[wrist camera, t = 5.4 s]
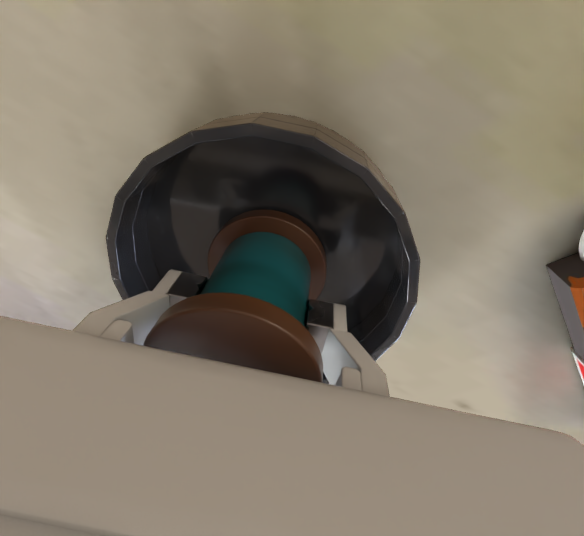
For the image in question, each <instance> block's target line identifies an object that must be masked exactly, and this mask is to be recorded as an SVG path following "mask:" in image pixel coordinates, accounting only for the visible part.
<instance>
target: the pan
mask: <svg viewBox="0 0 584 536" xmlns="http://www.w3.org/2000/svg"><path fill="white" fill-rule="evenodd" d="M253 210H274V211H279V212H283V213H286V214H289V215H291V216H293V217H295V218H297V219H299V220H300V221H302V222H303V223H304V224H306V225H307V226H308V227H309V228H310V229H311V230H312V231H313V232H314V233H315V234H316V236H317V237H318V239H319V240H320V242H321V244H322V246H323V248H324V251H325V255H326V262H327V267H326V280H325V284H324V287H323V290H322V292H321V293H320V295H319V296H318V298H317V299H316V300H318V301H323V302H328V303H336V304H341V305H345V306H346V318H347V332H349V333H351V334H352V335H353V336H354V337H355V338H356V340H357V341H358V342H359V343H360V344H361V346H362V347H363V348H364V349H365V350H366V351H367V353H368V354H369V355H370V356H371V357H372V359H373V360H374V361H376V360H377V359H378V358H379V357H380V356H381V355H382V354H383V353H384V352H385V351H386V350H387V349H389V348H390V347H391V346H392V345H393V344H394V343H395V342H396V341H397V340H398V339H399V338H400V336H401V334H402V332H403V330H404V328H405V326H406V323H407V321H408V319H409V317H410V315H411V313H412V311H413V309H414V307H415V305H416V302H417V296H418V283H419V270H420V257H419V254H418V251H417V248H416V244H415V241H414V238H413V235H412V232H411V229H410V226H409V223H408V220H407V217H406V214H405V212H404V210H403V208H402V205H401V203H400V201H399V199H398V197H397V195H396V193H395V191H394V189H393V187H392V186H391V185H390V183H389V182H388V181H387V180H386V178H385V177H384V176H383V174H382V173H381V171H380V170H379V168H378V167H377V166H376V165H375V164H374V163H373V162H372V160H371V159H370V158H369V157H368V156H367V155H366V154H365V152H364V151H362V149H360V148H358V147H357V146H356V145H354V144H353V143H352V142H351V141H349V140H348V139H346V138H345V137H343V136H341V135H340V134H338V133H337V132H335V131H333V130H331V129H329V128H327V127H325V126H322V125H321V124H318V123H316V122H313V121H310V120H306V119H303V118H299V117H296V116H291V115H284V114H277V113H268V112H262V113H249V114H242V115H236V116H231V117H227V118H220V119H216V120H213V121H211V122H209V123H207V124H204V125H202V126H200V127H198V128H196V129H194V130H192V131H190V132H188V133H186V134H184V135H183V136H181V137H179V138H177V139H176V140H174V141H172V142H170V143H169V144H167V145H165V146H163V147H161V148H160V149H158V150H156V151H154V152H153V153H151V154H149V155H147V156H146V157H145V158H143V159H142V161H141V162H140V163H139V165H138V166H137V167H136V169H135V170H134V171H133V173H132V174H131V175H130V177H129V178H128V179H127V181H126V182H125V183H124V185H123V186H122V187H121V189H120V190H119V191H118V193H117V194H116V196H115V200H114V204H113V208H112V213H111V217H110V221H109V226H108V230H107V235H106V243H107V249H108V256H109V262H110V269H111V275H112V280H113V282H114V284H115V286H116V287H117V289H118V291H119V293H120V295H121V297H122V299H123V300H125V299H128V298H130V297H133V296H136V295H138V294H141V293H144V292H146V291H153V289H154V288H155V287H156V286H157V284H158V283H159V282H160V281H161V279H162V278H163V277H164V276H165V275H166V273H167V272H168V271H169V270H171V269H173V270H177V271H182V272H187V273H191V274H195V275H200V276H204V277H207V278H208V279H209V278H210V274H209V270H208V252H209V249H210V245H211V243H212V241H213V239H214V238H215V236H216V235H217V234H218V232H219V231H220V229H221V228H222V227H223V226H224V225H225V224H226V223H227V222H228V221H229V220H231V219H232V218H234V217H236V216H237V215H240V214H242V213H245V212H248V211H253ZM323 383H326V384H329V382H328V380H327V378H326V376H325V374H324V372H323Z"/></svg>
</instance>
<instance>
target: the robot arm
mask: <svg viewBox="0 0 584 536" xmlns="http://www.w3.org/2000/svg"><path fill="white" fill-rule="evenodd" d="M207 281H208V278H207V277H204V276H200V275H195V274H191V273H187V272H182V271H177V270H173V269H171V270H169V271H168V272H167V273H166V275H165V276H164V277H163V278H162V279H161V281H160V282H159V283H158V284H157V286H156V287H155V288H154V289H153V291H146V292H144V293H141V294H138V295H136V296H133V297H130V298H128V299H125V300H122V301H120V302H117V303H114V304H112V305H109V306H106V307H104V308H101V309H98V310H96V311H93V312H90V313H89V314H88V315H87V316H86V317H85V318H84V319H83V320H82V321H81V322H80V323H79V324H78V325H77V326H76V327H75V328H74V329H73V330H72V331H70V330H66V329H61V328H56V327H51V326H46V325H41V324H37V323H32V322H27V321H22V320H17V319H13V318H8V317H3V316H0V536H584V445H583V444H581V443H580V442H579V441H577V440H576V439H574V438H573V437H571V436H569V435H567V434H564V433H561V432H558V431H553V430H549V429H544V428H539V427H534V426H529V425H524V424H519V423H515V422H510V421H505V420H500V419H495V418H490V417H485V416H480V415H476V414H471V413H466V412H461V411H456V410H452V409H447V408H442V407H437V406H432V405H427V404H423V403H418V402H413V401H408V400H403V399H398V398H394V397H390V396H389V390H388V384H387V378H386V374H385V373H384V372H383V370H382V369H381V368H380V367H379V366H378V364H377V363H376V362H375V361H374V360H373V359H372V357H371V356H370V355H369V354H368V353H367V351H366V350H365V349H364V348H363V347H362V346H361V344H360V343H359V342H358V341H357V340H356V338H355V337H354V336H353V335H352V334H351V333H349V332H347V318H346V306H345V305H341V304H336V303H328V302H323V301H318V300H314V299H309V300H308V305H307V318H306V324H305V328H306V329H307V330H308V331H309V332H310V334H311V335H312V337H313V338H314V340H315V342H316V343H317V345H318V347H319V350H320V353H321V356H322V361H323V372H324V374H325V376H326V378H327V380H328V382H329V384H326V383H321V382H316V381H311V380H307V379H302V378H297V377H292V376H287V375H283V374H278V373H273V372H268V371H263V370H258V369H254V368H249V367H244V366H239V365H234V364H229V363H224V362H220V361H215V360H210V359H205V358H200V357H196V356H191V355H186V354H181V353H176V352H172V351H167V350H162V349H157V348H152V347H147V346H143V344H144V341H145V339H146V337H147V335H148V334H149V332H150V331H151V329H152V328H153V326H154V325H155V323H156V322H157V321H158V319H159V318H160V316H161V315H162V314H163V313H164V312H165V311H166V310H167V309H168V308H170V307H171V306H173V305H174V304H176V303H178V302H180V301H182V300H184V299H186V298H189V297H192V296H195V295H200V293H201V291H202V290H203V288H204V286H205V284H206V283H207Z"/></svg>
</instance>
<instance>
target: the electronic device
mask: <svg viewBox="0 0 584 536" xmlns="http://www.w3.org/2000/svg"><path fill="white" fill-rule="evenodd" d="M546 267H547V270H548V273H549V276H550V279H551V282H552V285H553V288H554V291H555V294H556V297H557V300H558V302H559V305H560V308H561V311H562V314H563V317H564V320H565V323H566V326H567V329H568V332H569V335H570V338H571V341H572V344H573V347H571V351H572V354H573V356H574V359H575V362H576V365H577V368H578V371H579V373H580V376H581V379H582V382H583V385H584V230H583V233H582V235H581V238H580V243H579V253H577V254H574V255H571V256H569V257H566V258H563V259H561V260H558V261H555V262H553V263H550V264H547V265H546Z"/></svg>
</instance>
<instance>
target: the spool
mask: <svg viewBox="0 0 584 536" xmlns="http://www.w3.org/2000/svg"><path fill="white" fill-rule="evenodd" d="M326 267H327V262H326V255H325V251H324V248H323V246H322V244H321V242H320V240H319V239H318V237H317V236H316V234H315V233H314V232H313V231H312V230H311V229H310V228H309V227H308V226H307V225H306V224H304V223H303V222H302V221H300V220H299V219H297V218H295V217H293V216H291V215H289V214H286V213H283V212H279V211H274V210H253V211H248V212H245V213H242V214H240V215H237V216H236V217H234V218H232V219H231V220H229V221H228V222H227V223H226V224H225V225H224V226H223V227H222V228H221V229H220V231H219V232H218V234H217V235H216V236H215V238H214V239H213V241H212V243H211V245H210V249H209V252H208V270H209V274H210V278H209V279H208V281H207V283H206V284H205V286H204V288H203V290H202V291H201V293H200V295H195V296H192V297H189V298H186V299H184V300H182V301H180V302H178V303H176V304H174V305H173V306H171V307H170V308H168V309H167V310H166V311H165V312H164V313H163V314H162V315H161V316H160V318H159V319H158V321H157V322H156V323H155V325H154V326H153V328H152V329H151V331H150V332H149V334H148V335H147V337H146V339H145V341H144V344H143V346H147V347H152V348H157V349H162V350H167V351H172V352H176V353H181V354H186V355H191V356H196V357H200V358H205V359H210V360H215V361H220V362H224V363H229V364H234V365H239V366H244V367H249V368H254V369H258V370H263V371H268V372H273V373H278V374H283V375H287V376H292V377H297V378H302V379H307V380H311V381H316V382H321V383H323V361H322V356H321V353H320V350H319V347H318V345H317V343H316V342H315V340H314V338H313V337H312V335H311V334H310V332H309V331H308V330H307V329H306V328H305V324H306V318H307V305H308V300H309V299H314V300H316V299H317V298H318V296H319V295H320V293H321V292H322V290H323V287H324V284H325V280H326Z"/></svg>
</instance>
